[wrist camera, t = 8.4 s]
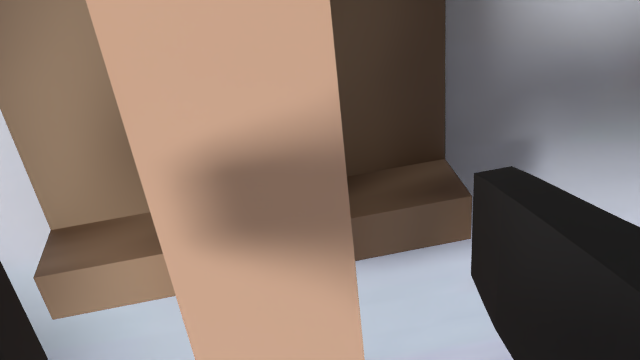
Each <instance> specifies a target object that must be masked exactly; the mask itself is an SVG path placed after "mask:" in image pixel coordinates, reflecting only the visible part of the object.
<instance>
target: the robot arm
mask: <svg viewBox="0 0 640 360" xmlns="http://www.w3.org/2000/svg"><path fill="white" fill-rule="evenodd" d="M471 276H472V278H473V280H474V283H475V285H476V287H477V290H478V292H479V294H480V297H481V299H482V301H483V304H484V306H485V308H486V310H487V312H488V314H489V317H490V319H491V321H492V323H493V325H494V327H495V329H496V331H497V333H498V334H499V336H500V338H501V339H502V341H503V343H504V344H505V346H506V348H507V349H508V351H509V353H510V354H511V356H512V358H513V359H514V360H640V227H638V226H636V225H634V224H632V223H629V222H627V221H625V220H623V219H621V218H619V217H617V216H615V215H613V214H611V213H608V212H606V211H604V210H602V209H600V208H598V207H596V206H594V205H592V204H590V203H588V202H586V201H584V200H582V199H580V198H578V197H576V196H574V195H572V194H570V193H568V192H566V191H564V190H562V189H560V188H558V187H556V186H554V185H552V184H550V183H547V182H545V181H543V180H541V179H539V178H537V177H535V176H533V175H531V174H528V173H526V172H524V171H522V170H519V169H517V168H514V167H512V166H511V167H506V168H500V169H495V170H489V171H484V172H479V173H474V196H473V228H472V260H471ZM0 360H48V358H47V356H46V354H45V352H44V350H43V348H42V346H41V344H40V342H39V340H38V338H37V336H36V334H35V331H34V329H33V327H32V325H31V323H30V321H29V319H28V317H27V315H26V313H25V311H24V309H23V307H22V305H21V303H20V301H19V299H18V297H17V294H16V292H15V290H14V288H13V286H12V284H11V282H10V280H9V278H8V276H7V274H6V272H5V270H4V268H3V266H2V264H1V262H0Z"/></svg>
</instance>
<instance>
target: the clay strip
mask: <svg viewBox="0 0 640 360" xmlns="http://www.w3.org/2000/svg"><path fill="white" fill-rule="evenodd" d="M86 3H87V7H88V10H89V13H90V16H91V20H92V23H93V26H94V29H95V33H96V36H97V39H98V43H99V46H100V49H101V52H102V56H103V59H104V62H105V66H106V69H107V72H108V75H109V79H110V82H111V85H112V88H113V92H114V95H115V98H116V102H117V105H118V108H119V111H120V115H121V118H122V121H123V124H124V128H125V131H126V134H127V138H128V141H129V144H130V147H131V151H132V154H133V157H134V160H135V164H136V167H137V170H138V174H139V177H140V180H141V183H142V187H143V190H144V193H145V196H146V200H147V203H148V206H149V210H150V213H151V216H152V219H153V223H154V226H155V229H156V233H157V236H158V239H159V242H160V246H161V249H162V252H163V255H164V259H165V262H166V265H167V269H168V272H169V275H170V278H171V282H172V285H173V288H174V291H175V295H176V298H177V301H178V305H179V308H180V311H181V314H182V318H183V321H184V324H185V327H186V331H187V334H188V337H189V341H190V344H191V347H192V350H193V354H194V357H195V360H364V350H363V339H362V329H361V319H360V308H359V298H358V288H357V277H356V267H355V256H354V246H353V236H352V225H351V215H350V204H349V194H348V184H347V173H346V163H345V153H344V142H343V132H342V121H341V111H340V101H339V90H338V80H337V70H336V59H335V49H334V38H333V28H332V18H331V7H330V0H86Z"/></svg>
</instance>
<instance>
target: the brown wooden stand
mask: <svg viewBox="0 0 640 360" xmlns="http://www.w3.org/2000/svg"><path fill="white" fill-rule="evenodd" d="M330 7H331V18H332V28H333V38H334V49H335V59H336V70H337V80H338V90H339V101H340V111H341V121H342V132H343V142H344V153H345V163H346V173H347V184H348V194H349V204H350V215H351V225H352V236H353V246H354V256H355V261H358V260H363V259H368V258H373V257H378V256H384V255H389V254H394V253H399V252H404V251H409V250H415V249H420V248H425V247H430V246H435V245H440V244H446V243H451V242H456V241H461V240H466V239H471V212H472V195H471V194H470V193H469V191H468V190H467V188H466V187H465V186H464V184H463V183H462V182H461V180H460V179H459V177H458V176H457V175H456V173H455V172H454V171H453V169H452V168H451V166H450V165H449V164H448V162H447V161H446V160H445V0H330ZM0 109H1V112H2V114H3V116H4V119H5V121H6V124H7V126H8V128H9V131H10V133H11V136H12V138H13V140H14V143H15V145H16V148H17V150H18V152H19V155H20V157H21V160H22V162H23V164H24V167H25V169H26V172H27V174H28V176H29V179H30V181H31V184H32V186H33V188H34V191H35V193H36V196H37V198H38V200H39V203H40V205H41V208H42V210H43V212H44V215H45V217H46V220H47V222H48V224H49V227H50V229H51V231H50V234H49V237H48V239H47V242H46V245H45V248H44V250H43V253H42V256H41V259H40V261H39V264H38V267H37V270H36V272H35V275H34V280H35V282H36V285H37V287H38V289H39V291H40V293H41V295H42V298H43V300H44V302H45V304H46V306H47V309H48V311H49V313H50V315H51V317H52V319H58V318H64V317H69V316H74V315H79V314H84V313H89V312H95V311H100V310H105V309H110V308H115V307H120V306H126V305H131V304H136V303H141V302H146V301H151V300H157V299H162V298H167V297H172V296H176V295H175V291H174V288H173V285H172V282H171V278H170V275H169V272H168V269H167V265H166V262H165V259H164V255H163V252H162V249H161V246H160V242H159V239H158V236H157V233H156V229H155V226H154V223H153V219H152V216H151V213H150V210H149V206H148V203H147V200H146V196H145V193H144V190H143V187H142V183H141V180H140V177H139V174H138V170H137V167H136V164H135V160H134V157H133V154H132V151H131V147H130V144H129V141H128V138H127V134H126V131H125V128H124V124H123V121H122V118H121V115H120V111H119V108H118V105H117V102H116V98H115V95H114V92H113V88H112V85H111V82H110V79H109V75H108V72H107V69H106V66H105V62H104V59H103V56H102V52H101V49H100V46H99V43H98V39H97V36H96V33H95V29H94V26H93V23H92V20H91V16H90V13H89V10H88V7H87V3H86V0H0Z"/></svg>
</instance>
